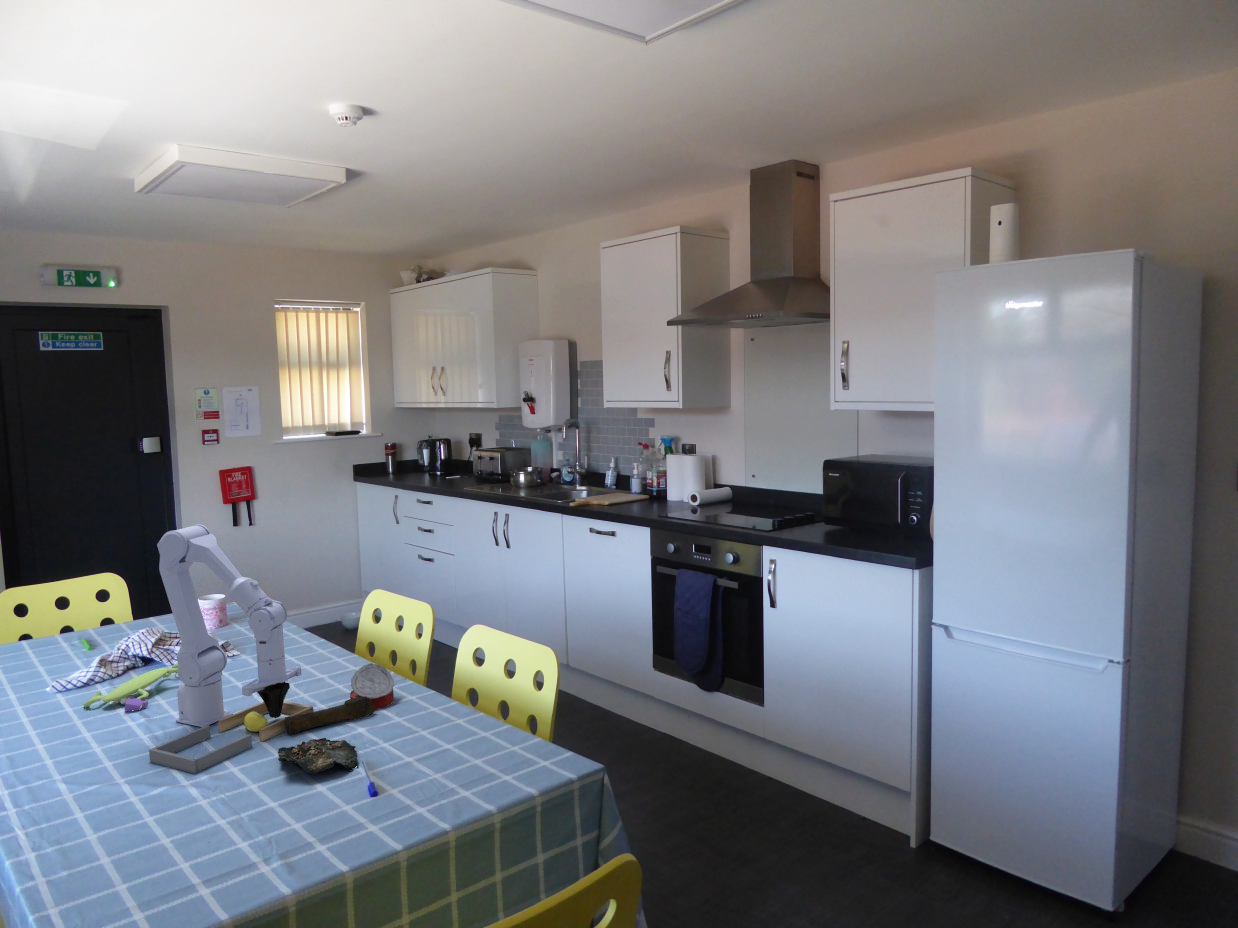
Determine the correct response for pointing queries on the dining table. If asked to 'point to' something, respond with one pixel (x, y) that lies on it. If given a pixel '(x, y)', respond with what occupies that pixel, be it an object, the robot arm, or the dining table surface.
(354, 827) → the dining table surface
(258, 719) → the lemon
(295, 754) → the decorative rock
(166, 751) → the grey frame
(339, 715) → the hand tool
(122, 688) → the figurine
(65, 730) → the dining table surface
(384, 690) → the canned food
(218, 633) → the dining table surface
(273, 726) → the oak frame
